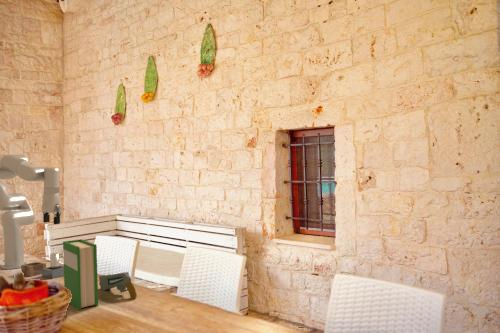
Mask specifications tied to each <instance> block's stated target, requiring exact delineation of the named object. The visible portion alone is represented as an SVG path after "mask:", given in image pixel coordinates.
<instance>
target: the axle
mask: <svg viewBox="0 0 500 333" xmlns="http://www.w3.org/2000/svg"><path fill="white" fill-rule="evenodd" d="M49 257H50V267H51V269H52V270H54V269H58V268H59V265H60V253H58V252H55V253H50V256H49Z"/></svg>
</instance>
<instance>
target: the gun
mask: <svg viewBox="0 0 500 333" xmlns="http://www.w3.org/2000/svg"><path fill="white" fill-rule="evenodd" d="M131 277H132V276H130V274H129V271H126V272H125V271H124V272H120V273H113V274H111V273H108V274H101V275H98V280H99V281H98V282H99V283H98V285H99V287H100V289H101V291H107V290H111V289H114V288H116V290H117V291H119V292H120V294H122V293H124V292H125V293H126V292H128V294H129V297H130V299H131V300H135V299H137V291H136V288H135V286H134V284H133V283H132V278H131Z"/></svg>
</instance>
